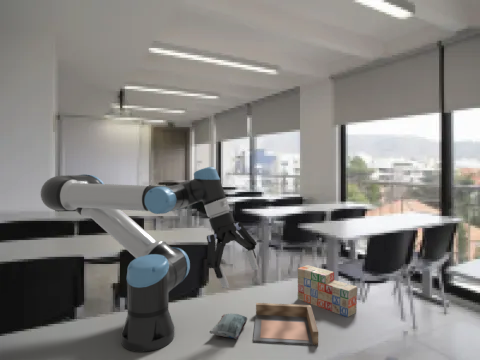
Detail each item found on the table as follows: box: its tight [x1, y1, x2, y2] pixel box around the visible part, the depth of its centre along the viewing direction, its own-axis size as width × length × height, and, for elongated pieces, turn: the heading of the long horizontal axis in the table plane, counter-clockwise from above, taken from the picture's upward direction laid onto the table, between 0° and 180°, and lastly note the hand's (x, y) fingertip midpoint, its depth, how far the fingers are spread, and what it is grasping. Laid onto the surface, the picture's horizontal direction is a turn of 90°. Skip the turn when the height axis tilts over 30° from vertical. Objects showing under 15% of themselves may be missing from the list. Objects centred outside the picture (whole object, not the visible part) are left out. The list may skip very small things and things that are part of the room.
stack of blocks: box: [297, 264, 358, 318], centre depth 119 cm, size 21×6×12 cm, turn 42°
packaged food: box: [209, 313, 248, 339], centre depth 99 cm, size 9×12×5 cm
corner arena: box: [252, 302, 319, 347], centre depth 102 cm, size 18×18×4 cm
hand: (241, 278), depth 103 cm, fingers open, 13 cm apart
